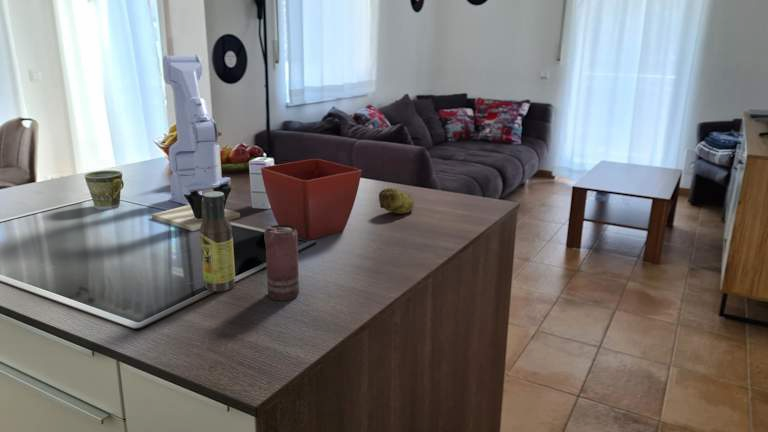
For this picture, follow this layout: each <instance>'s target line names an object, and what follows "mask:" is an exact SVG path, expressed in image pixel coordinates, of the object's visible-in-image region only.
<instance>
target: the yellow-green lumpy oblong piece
mask: <svg viewBox="0 0 768 432" xmlns="http://www.w3.org/2000/svg"><path fill="white" fill-rule="evenodd" d="M378 202H379V204H380V205H379V207H380V209H384V210H385V211H388V212H393V213H395V214H399V215H403V214H407V213H409V212H411V211H412V210H413V208H414V205H415V199H414V197H413V196H411V195H410V194H409V193H406V192H402V191H401V190H400V189H397V188H395V187H386V188H384V189H382V190H381V191H380V192H379V193H378Z"/></svg>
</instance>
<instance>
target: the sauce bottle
mask: <svg viewBox="0 0 768 432" xmlns="http://www.w3.org/2000/svg"><path fill="white" fill-rule="evenodd" d="M202 195H203V202H204V205H205V219H204V221H203V222H202V224H201V227H200V229H199V239H200V253H201V265H202V279H203V281H204V283H203V285H204V288H205V289H206V290H208V291H211V292H217V293H218V292H226V291H229V290H231V289H234V286H235V282H236V280H235V279H236V278H235V277H236V271H235V270H236V269H235V255H234V253H235V252H234V239H233V233H232V232H233V231H232V230H233V229H232V224H231V222H230V220H229V221H228V219H227V218H226V217H225V211H224V200H225V197H224V193H223V192H218V191H214V190H213V191H208V192H205V193H202Z"/></svg>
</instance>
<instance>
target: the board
mask: <svg viewBox="0 0 768 432" xmlns="http://www.w3.org/2000/svg"><path fill="white" fill-rule="evenodd" d="M224 211H225V217H226V218H227V219H228V221H229V222H230V221H231V220H235V219H238V218H240V217H241V213H240V212H237V211H233V210H230V209H226V208H225V209H224ZM151 219H153V220H156V221H159V222H162V223H165V224H168V225H172V226H175V227H178V228H182V229H185V230H188V231H191V232H194V231H198V230H200V227H201V224H202V222H203V221H204V219H198V218H195V216H194V213H193V211H192V208H191V206H190V205H184V206H180V207H179V206H178V207H176V208H170V209H168V210H163V211H159V212H156V213H151Z"/></svg>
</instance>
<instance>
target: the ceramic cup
mask: <svg viewBox="0 0 768 432" xmlns="http://www.w3.org/2000/svg"><path fill="white" fill-rule="evenodd" d="M84 179H85V182H86V186H87V189H88V190H89V194H90V196H91V199H92V203H93V205H94V208H95V209H96V210H100V211H106V210H114V209H118V208H119V206H120V204H121V191H122V189H123V188H124V185H125V184H124V181H123V172H122V171H119V170H113V169H109V170H97V171H92V172H87V173H86V174H84Z"/></svg>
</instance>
